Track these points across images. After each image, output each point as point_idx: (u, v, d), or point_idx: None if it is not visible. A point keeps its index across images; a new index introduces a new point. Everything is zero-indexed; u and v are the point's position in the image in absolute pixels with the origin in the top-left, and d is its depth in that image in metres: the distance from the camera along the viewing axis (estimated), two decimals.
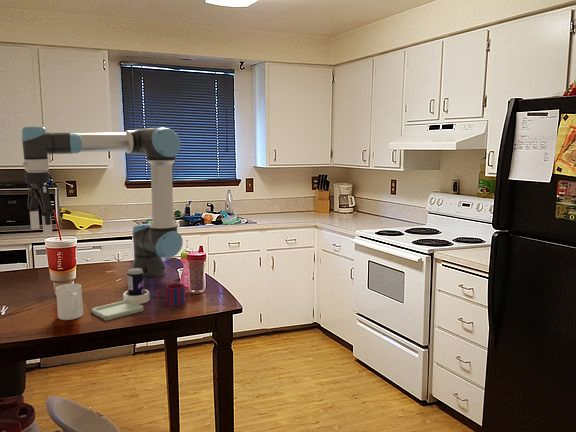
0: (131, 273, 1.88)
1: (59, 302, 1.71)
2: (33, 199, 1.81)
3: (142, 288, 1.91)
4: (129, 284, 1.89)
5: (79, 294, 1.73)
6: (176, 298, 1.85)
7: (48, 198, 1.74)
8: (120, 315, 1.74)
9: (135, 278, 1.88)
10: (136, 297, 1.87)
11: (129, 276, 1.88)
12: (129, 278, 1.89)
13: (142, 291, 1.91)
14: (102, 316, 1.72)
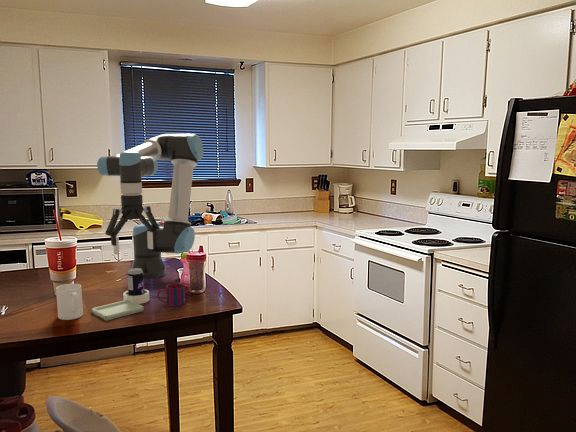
0: (131, 273, 1.88)
1: (59, 302, 1.71)
2: (140, 220, 1.90)
3: (142, 288, 1.91)
4: (129, 284, 1.89)
5: (79, 294, 1.73)
6: (176, 298, 1.85)
7: (113, 220, 1.81)
8: (120, 315, 1.74)
9: (135, 278, 1.88)
10: (136, 297, 1.87)
11: (129, 276, 1.88)
12: (129, 278, 1.89)
13: (142, 291, 1.91)
14: (102, 316, 1.72)
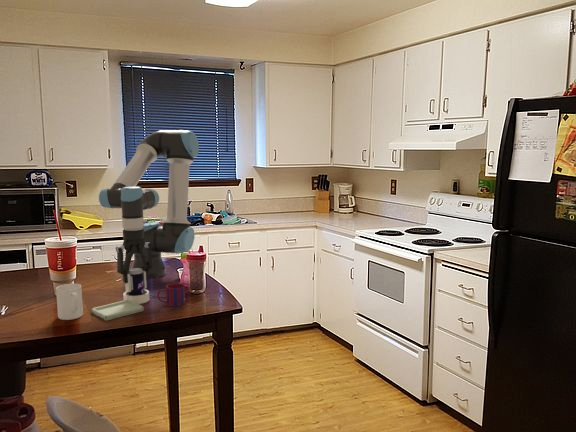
0: (131, 273, 1.88)
1: (59, 302, 1.71)
2: (138, 255, 1.91)
3: (142, 288, 1.91)
4: None
5: (79, 294, 1.73)
6: (176, 298, 1.85)
7: (119, 259, 1.85)
8: (120, 315, 1.74)
9: (135, 278, 1.88)
10: (136, 297, 1.87)
11: None
12: None
13: (142, 291, 1.91)
14: (102, 316, 1.72)
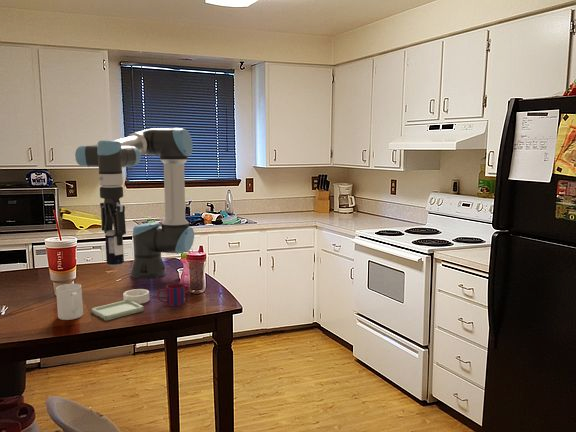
0: None
1: (59, 302, 1.71)
2: (108, 216, 1.75)
3: None
4: None
5: (79, 294, 1.73)
6: (176, 298, 1.85)
7: (123, 218, 1.70)
8: (120, 315, 1.74)
9: (122, 237, 1.76)
10: (136, 297, 1.87)
11: None
12: None
13: None
14: (102, 316, 1.72)
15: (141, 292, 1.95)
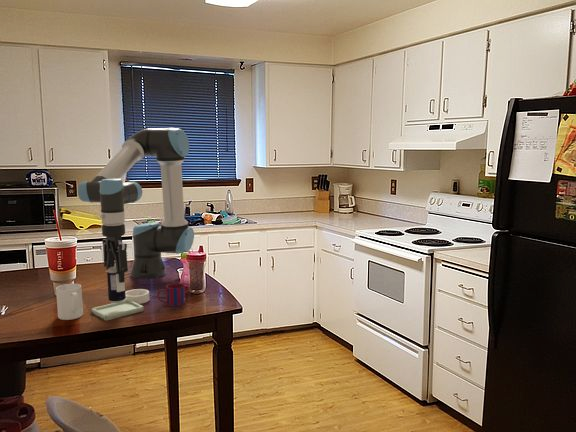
0: None
1: (59, 302, 1.71)
2: (110, 253, 1.77)
3: None
4: None
5: (79, 294, 1.73)
6: (176, 298, 1.85)
7: (125, 256, 1.72)
8: (120, 315, 1.74)
9: None
10: (136, 297, 1.87)
11: None
12: None
13: None
14: (102, 316, 1.72)
15: (141, 292, 1.95)
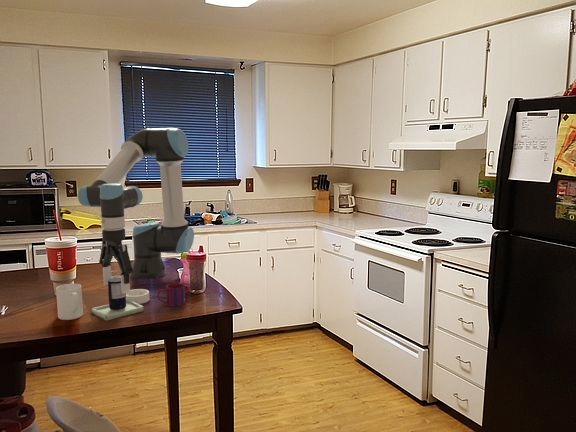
0: None
1: (59, 302, 1.71)
2: (108, 255, 1.79)
3: None
4: (121, 292, 1.77)
5: (79, 294, 1.73)
6: (176, 298, 1.85)
7: (127, 257, 1.71)
8: (120, 315, 1.74)
9: None
10: (136, 297, 1.87)
11: None
12: None
13: None
14: (102, 316, 1.72)
15: (141, 292, 1.95)
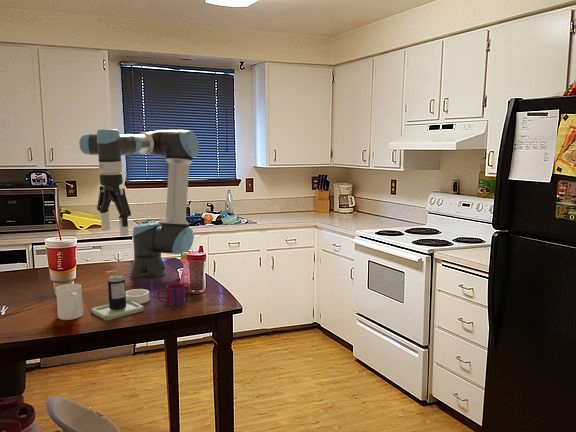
0: (122, 279, 1.77)
1: (59, 302, 1.71)
2: (105, 201, 1.82)
3: None
4: (121, 292, 1.77)
5: (79, 294, 1.73)
6: (176, 298, 1.85)
7: (125, 200, 1.75)
8: (120, 315, 1.74)
9: None
10: (136, 297, 1.87)
11: (121, 283, 1.77)
12: (121, 286, 1.76)
13: None
14: (102, 316, 1.72)
15: (141, 292, 1.95)
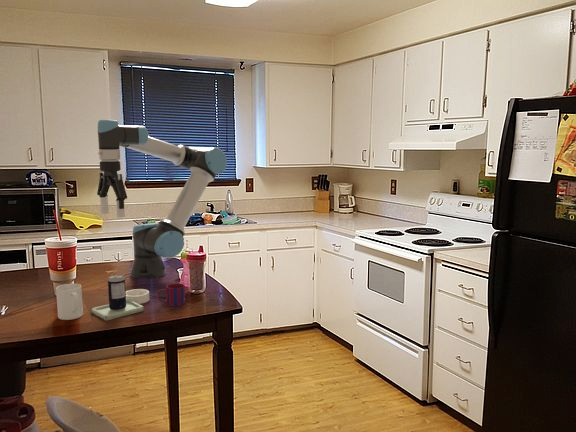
0: (122, 279, 1.77)
1: (59, 302, 1.71)
2: (105, 186, 1.99)
3: None
4: (121, 292, 1.77)
5: (79, 294, 1.73)
6: (176, 298, 1.85)
7: (122, 184, 1.92)
8: (120, 315, 1.74)
9: None
10: (136, 297, 1.87)
11: (121, 283, 1.77)
12: (121, 286, 1.76)
13: None
14: (102, 316, 1.72)
15: (141, 292, 1.95)
